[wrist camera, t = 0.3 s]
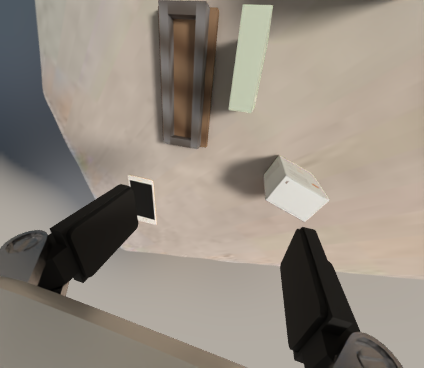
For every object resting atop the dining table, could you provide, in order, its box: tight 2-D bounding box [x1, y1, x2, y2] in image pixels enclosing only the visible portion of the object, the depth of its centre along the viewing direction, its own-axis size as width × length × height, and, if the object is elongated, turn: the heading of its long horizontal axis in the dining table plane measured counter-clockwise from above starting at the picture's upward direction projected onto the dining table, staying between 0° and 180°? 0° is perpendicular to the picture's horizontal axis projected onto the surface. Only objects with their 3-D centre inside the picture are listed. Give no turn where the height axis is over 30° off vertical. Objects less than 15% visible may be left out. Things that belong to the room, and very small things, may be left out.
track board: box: [158, 0, 219, 149], centre depth 32 cm, size 22×10×3 cm, turn 174°
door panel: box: [229, 4, 273, 113], centre depth 25 cm, size 10×3×12 cm, turn 174°
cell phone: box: [128, 175, 157, 225], centre depth 51 cm, size 8×16×1 cm, turn 174°
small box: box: [264, 155, 329, 222], centre depth 32 cm, size 8×6×10 cm
